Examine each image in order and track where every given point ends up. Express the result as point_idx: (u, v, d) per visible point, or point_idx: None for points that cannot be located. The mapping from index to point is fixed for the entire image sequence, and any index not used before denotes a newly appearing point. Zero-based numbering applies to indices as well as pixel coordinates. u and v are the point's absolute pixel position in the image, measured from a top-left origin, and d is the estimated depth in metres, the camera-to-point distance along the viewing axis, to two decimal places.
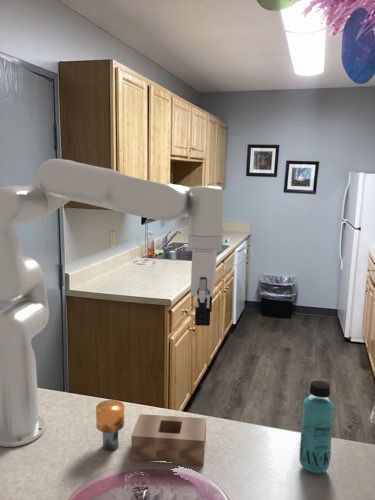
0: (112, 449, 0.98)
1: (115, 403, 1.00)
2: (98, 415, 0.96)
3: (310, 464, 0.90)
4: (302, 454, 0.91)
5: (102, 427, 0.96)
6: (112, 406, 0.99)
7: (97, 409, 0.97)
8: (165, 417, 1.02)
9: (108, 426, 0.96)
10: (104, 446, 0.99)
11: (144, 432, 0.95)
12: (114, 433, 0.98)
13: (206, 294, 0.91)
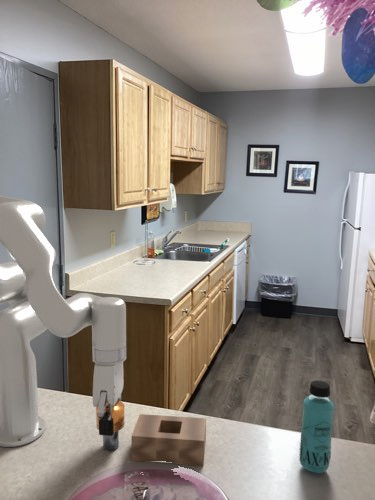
0: (112, 449, 0.98)
1: None
2: None
3: (310, 464, 0.90)
4: (302, 454, 0.91)
5: None
6: None
7: (97, 409, 0.97)
8: (165, 417, 1.02)
9: None
10: (104, 446, 0.99)
11: (144, 432, 0.95)
12: (114, 433, 0.98)
13: (108, 407, 0.94)
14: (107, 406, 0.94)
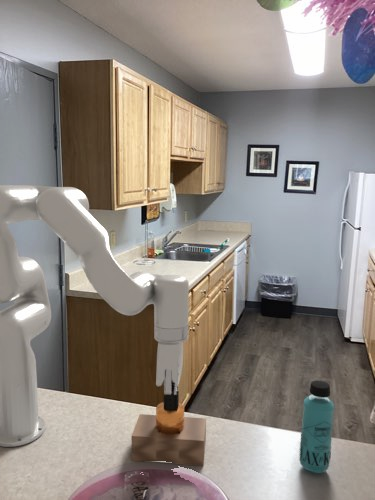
0: None
1: None
2: (159, 417, 0.95)
3: (310, 464, 0.90)
4: (302, 454, 0.91)
5: (163, 429, 0.95)
6: None
7: (158, 411, 0.96)
8: None
9: (170, 427, 0.95)
10: None
11: (144, 432, 0.95)
12: None
13: (173, 385, 0.94)
14: (172, 384, 0.94)
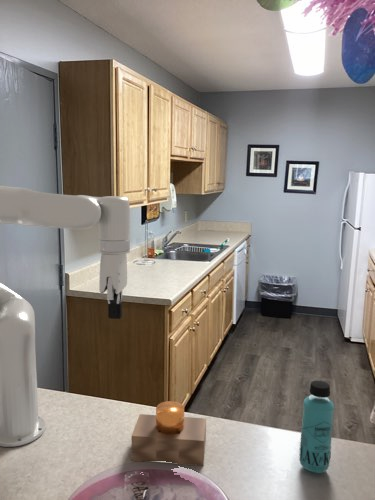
0: None
1: (174, 404, 0.99)
2: (159, 417, 0.95)
3: (310, 464, 0.90)
4: (302, 454, 0.91)
5: (163, 429, 0.95)
6: (172, 407, 0.98)
7: (158, 411, 0.96)
8: None
9: (170, 427, 0.95)
10: None
11: (144, 432, 0.95)
12: None
13: (115, 294, 1.06)
14: (114, 293, 1.06)
